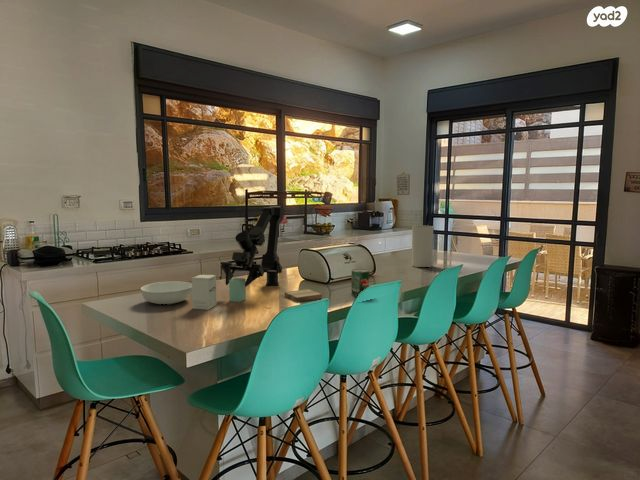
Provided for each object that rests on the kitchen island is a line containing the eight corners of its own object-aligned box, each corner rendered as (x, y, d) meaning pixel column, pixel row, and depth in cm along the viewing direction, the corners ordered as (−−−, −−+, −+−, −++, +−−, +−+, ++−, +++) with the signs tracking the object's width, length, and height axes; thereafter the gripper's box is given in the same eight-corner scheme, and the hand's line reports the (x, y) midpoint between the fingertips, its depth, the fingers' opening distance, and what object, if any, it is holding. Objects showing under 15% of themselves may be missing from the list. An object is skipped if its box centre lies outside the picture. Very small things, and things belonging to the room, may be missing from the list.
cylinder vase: (431, 268, 269) (432, 227, 267) (410, 267, 274) (410, 226, 271) (433, 265, 281) (434, 225, 278) (413, 264, 285) (414, 225, 283)
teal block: (235, 298, 195) (235, 277, 194) (245, 299, 193) (245, 278, 192) (229, 300, 190) (229, 280, 189) (240, 301, 188) (239, 280, 187)
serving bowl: (129, 305, 182) (129, 289, 182) (165, 294, 202) (164, 279, 201) (171, 310, 175) (170, 293, 174) (203, 298, 194) (203, 283, 193)
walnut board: (284, 297, 198) (284, 292, 198) (308, 294, 204) (308, 289, 204) (297, 303, 188) (297, 297, 187) (321, 299, 194) (321, 294, 194)
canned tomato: (352, 292, 206) (352, 268, 205) (369, 292, 205) (369, 269, 204) (350, 295, 199) (350, 271, 198) (368, 296, 197) (368, 272, 196)
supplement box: (209, 309, 175) (208, 278, 174) (191, 309, 177) (190, 277, 176) (217, 305, 183) (216, 274, 181) (200, 304, 184) (199, 274, 183)
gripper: (222, 244, 196) (208, 273, 187) (260, 245, 190) (248, 275, 181) (232, 259, 204) (219, 287, 195) (269, 261, 198) (258, 290, 189)
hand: (235, 285), depth 190 cm, fingers open, 9 cm apart
